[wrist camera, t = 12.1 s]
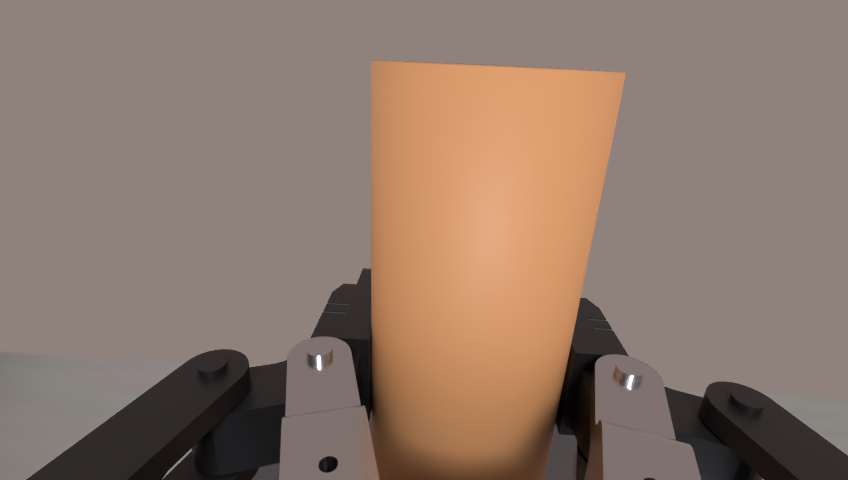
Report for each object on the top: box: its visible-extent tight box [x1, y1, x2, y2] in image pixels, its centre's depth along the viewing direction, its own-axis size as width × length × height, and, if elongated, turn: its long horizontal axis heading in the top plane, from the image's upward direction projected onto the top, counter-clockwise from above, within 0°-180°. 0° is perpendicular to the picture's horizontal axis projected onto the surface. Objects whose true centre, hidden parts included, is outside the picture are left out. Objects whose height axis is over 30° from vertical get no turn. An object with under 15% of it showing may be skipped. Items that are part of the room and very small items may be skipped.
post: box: [371, 60, 626, 480], centre depth 11 cm, size 5×5×16 cm
